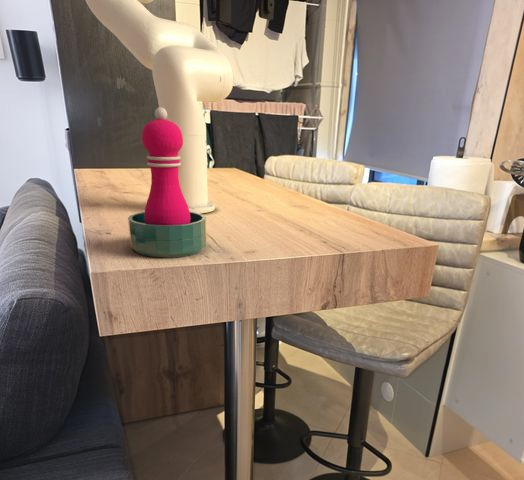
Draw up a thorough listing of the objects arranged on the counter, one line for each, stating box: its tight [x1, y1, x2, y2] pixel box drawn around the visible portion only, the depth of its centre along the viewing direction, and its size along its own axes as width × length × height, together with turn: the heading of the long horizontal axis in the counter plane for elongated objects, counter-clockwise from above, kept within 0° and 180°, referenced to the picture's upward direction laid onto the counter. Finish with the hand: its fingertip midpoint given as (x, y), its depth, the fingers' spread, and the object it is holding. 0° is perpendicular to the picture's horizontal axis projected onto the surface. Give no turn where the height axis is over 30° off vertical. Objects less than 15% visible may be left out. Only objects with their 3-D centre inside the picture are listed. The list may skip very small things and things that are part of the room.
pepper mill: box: [141, 106, 190, 225], centre depth 70 cm, size 7×7×20 cm
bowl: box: [127, 211, 208, 259], centre depth 74 cm, size 12×12×5 cm
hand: (244, 21), depth 78 cm, fingers open, 9 cm apart
